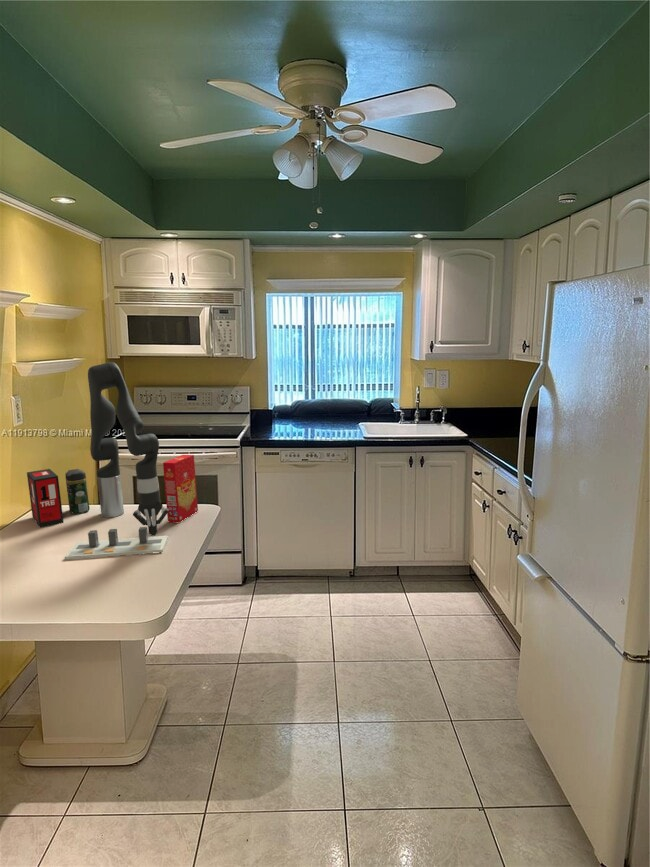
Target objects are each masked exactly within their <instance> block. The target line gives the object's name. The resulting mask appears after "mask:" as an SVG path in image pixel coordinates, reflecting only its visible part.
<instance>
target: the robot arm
mask: <svg viewBox="0 0 650 867" xmlns="http://www.w3.org/2000/svg"><path fill="white" fill-rule="evenodd" d="M87 382H88V388H89V390H88V391H89V398H90V399H89V400H90V410H89V411H90V412H89V414H90V415H89V416H90V417H89V418H90V428H91V431H90V432H91V435H90V447H89V448H90V456H91V458H92V460H93V461H95V462H100V461H101V462H102V461H109V462H108V463H107V464H106V465H103V466H102V467H100V468H98V469H97V470H96V477H97V478H96V480H97V487H98V488H97V489H98V496H99V505H100V506H99V507H100V516H101V517H102V516H103V517H102V518H115V517H119V516H121V515H123V514H124V513H125V509H124V499H123V489H122V479H121V478H122V477H121V469H120V457H119V452H120V451H119V444H118V440H117V438H116V437H105V436H106V435H107V434H108V433H109V432H110V431H111V429H113V427H114V425H115V424H116V418H117V419H118V422H119V424H120V426H121V428H122V429H123V431H124V434H125V439H126V445H127V449H128V452H129V453H130V454H131V455H132V456H134V457H140V456H144V458H143V459H141V460H139V461H138V462H137V463H135V474H136V490H137V499H138V508H137V509H136V510H134V511H133V513H132V516H133V517H134V518H135V519H136V520H137V521H138V522H139V523H140V524H141V525H143V526H146V527H147V530H148V534H149V535H150V537H154V536H157V533H158V525H160V524H161V523H162V521H163V520H164V519H165V517H166V516H167V513H168V511H169V509H168V508H167V507H164V506H163V503H162V501H161V492H160V483H159V482H160V481H159V478H158V473H157V463H158V462H157V461H158V455H159V449H160V441H159V439H158V437H157V436H156V434H154V433H146V434H140V435H137V434H139V433H141V432H142V431H143V429H144V427H145V425H144V422H143V419H142V417H141V416H140V415H139V412H138V411H137V409H136V408H135V404H134V402H133V400H132V397H131V394H130V392H129V389H128V387H127V383H126V382H125V379H124V376H123V373H122V370H121V369H120V367H119V366H118V364H117V363H115V362H114V361H110V362H104V363H100V364H97V365H93V366H90V367H89V368H88V371H87ZM112 388H116V389H117V393H118V398H117V403H116V407H115V406H114V404H113V402H111V401H110V400H109V399H108V398H106V397H105V396H104V395H103V394H102V392H103V390H107V389H112ZM104 437H105V438H104ZM160 512H161V515H160V517H159V518H158V515H159V513H160ZM144 517H145V518H144Z"/></svg>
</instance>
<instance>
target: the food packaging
mask: <svg viewBox="0 0 650 867" xmlns="http://www.w3.org/2000/svg"><path fill="white" fill-rule="evenodd" d="M162 466H163V468H162V469H163V478H164V479H163V481H164V492H165V502H166V504H165V505H166V508H168V509H169V511H168V513H167V514H166V516H167V522H168V521H169V522H168V523H173V522H180V523H182V522H183V521H185V520H186V519H185V518H187V517H189V516H190V515H192V514H194V513H195V512H197V511H198V512H199V507H198V506H199V505H198V494H197V492H198V491H197V479H196V465H195V455H194V454H180V455H178V456H176V457H173V458H171V459H169V460H166V461H163V462H162ZM198 512H197V513H198ZM195 514H196V513H195ZM195 514H194V515H195ZM192 516H193V515H192ZM190 517H191V516H190ZM190 517H189V518H190ZM184 519H185V520H184ZM187 519H188V518H187ZM182 520H183V521H182ZM181 521H182V522H181Z"/></svg>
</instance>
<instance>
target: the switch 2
mask: <svg viewBox="0 0 650 867" xmlns="http://www.w3.org/2000/svg"><path fill="white" fill-rule="evenodd" d="M148 534H149V532H148V526H140V527H139V529H138V538H139V540H140V543H147V541H148V537H149V535H148Z"/></svg>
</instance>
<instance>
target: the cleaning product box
mask: <svg viewBox="0 0 650 867" xmlns="http://www.w3.org/2000/svg"><path fill="white" fill-rule="evenodd" d="M26 476H27V477H26V478H27V486H28V491H29V492H28V494H29V498H30V507H31V515H32V516H31V517H32V519H33V520H34V521H35V523H36V525H38V527H39V528H45V527H49V526H54V525H59V523H60V524H64V516H63V507H62V499H61V490H60V483H59V475H57V474H56V473H55V472H54V471H53V470H52V469H50V468H45V469H41V470H33V471H27V472H26Z"/></svg>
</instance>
